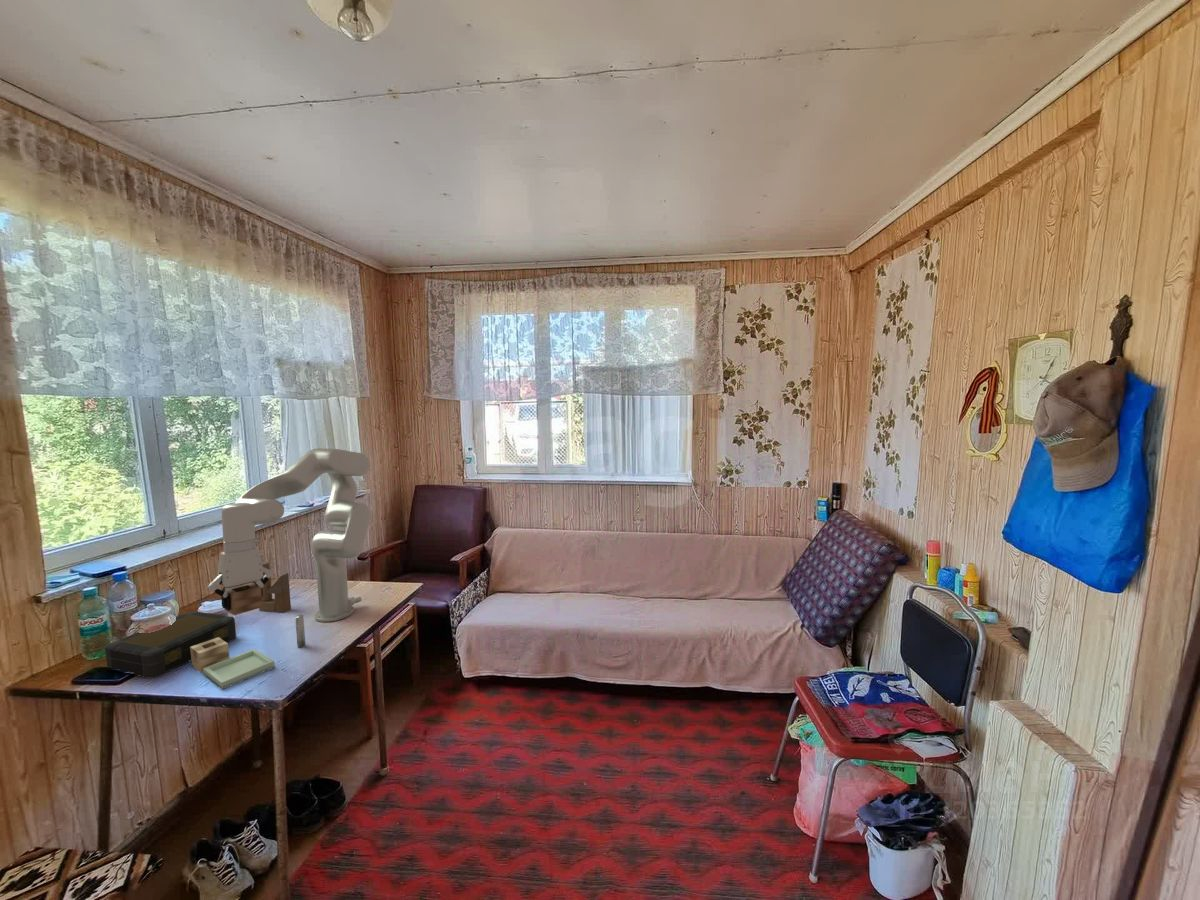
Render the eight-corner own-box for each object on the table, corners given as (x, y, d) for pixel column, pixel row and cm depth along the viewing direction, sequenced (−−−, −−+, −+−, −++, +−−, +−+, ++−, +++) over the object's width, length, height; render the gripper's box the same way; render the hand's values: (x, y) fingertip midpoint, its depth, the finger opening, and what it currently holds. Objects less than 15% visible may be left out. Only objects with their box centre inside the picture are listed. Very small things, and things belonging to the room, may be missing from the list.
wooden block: (283, 613, 179) (280, 566, 177) (258, 611, 181) (254, 564, 179) (291, 608, 183) (288, 562, 181) (266, 606, 185) (263, 561, 183)
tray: (255, 654, 150) (254, 648, 150) (274, 667, 143) (274, 661, 143) (203, 674, 139) (202, 668, 139) (222, 689, 132) (221, 682, 132)
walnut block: (252, 602, 147) (250, 582, 147) (262, 607, 144) (261, 587, 143) (224, 609, 142) (223, 589, 141) (234, 615, 138) (233, 594, 137)
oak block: (220, 655, 150) (218, 637, 149) (229, 662, 146) (227, 643, 145) (192, 666, 144) (190, 646, 143) (201, 673, 140) (199, 653, 140)
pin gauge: (303, 643, 157) (301, 614, 156) (306, 645, 155) (304, 615, 154) (296, 646, 155) (293, 616, 154) (299, 648, 154) (297, 618, 152)
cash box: (193, 630, 166) (191, 609, 165) (238, 638, 161) (236, 616, 160) (102, 670, 142) (99, 645, 141) (152, 680, 137) (149, 654, 136)
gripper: (267, 537, 150) (270, 593, 152) (197, 550, 136) (201, 611, 137) (278, 541, 146) (281, 598, 148) (208, 555, 132) (211, 618, 133)
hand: (243, 604), depth 142 cm, fingers closed on walnut block, 7 cm apart
